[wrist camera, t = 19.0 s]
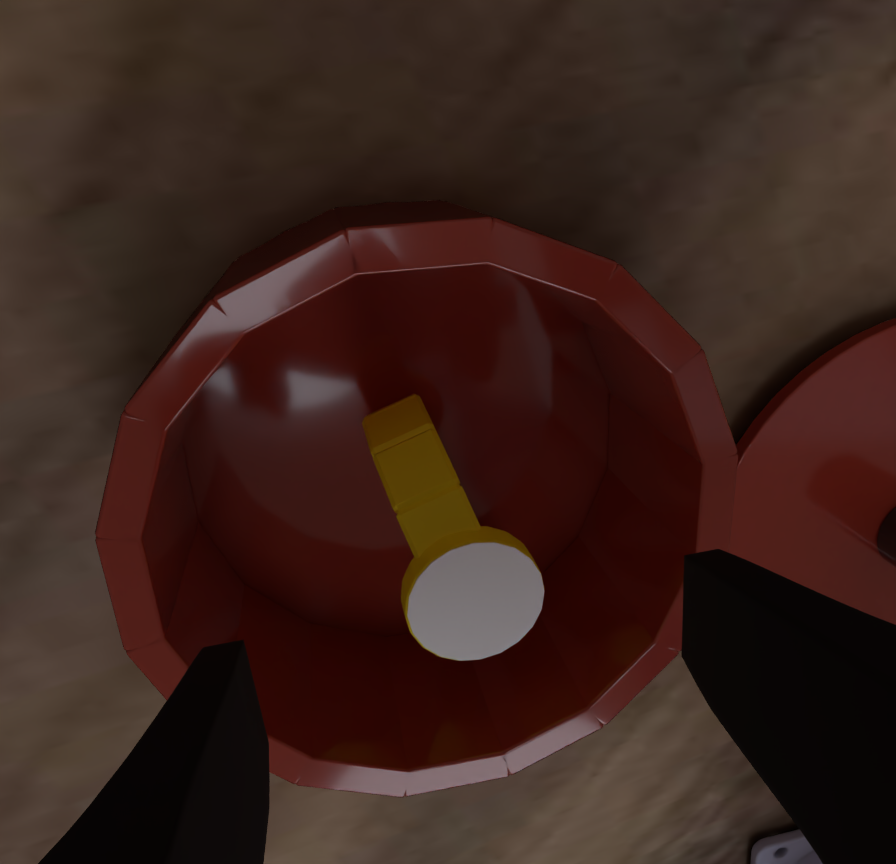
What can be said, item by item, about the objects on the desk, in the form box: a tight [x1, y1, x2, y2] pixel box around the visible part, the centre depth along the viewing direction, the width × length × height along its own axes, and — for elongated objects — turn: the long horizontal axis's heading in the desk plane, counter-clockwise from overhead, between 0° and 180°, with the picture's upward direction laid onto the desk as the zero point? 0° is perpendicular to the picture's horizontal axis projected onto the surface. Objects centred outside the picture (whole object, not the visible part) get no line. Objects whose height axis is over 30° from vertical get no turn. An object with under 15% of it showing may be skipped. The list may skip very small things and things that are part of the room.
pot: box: [95, 200, 738, 797], centre depth 17 cm, size 13×13×6 cm
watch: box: [362, 394, 545, 661], centre depth 17 cm, size 6×3×6 cm, turn 22°
